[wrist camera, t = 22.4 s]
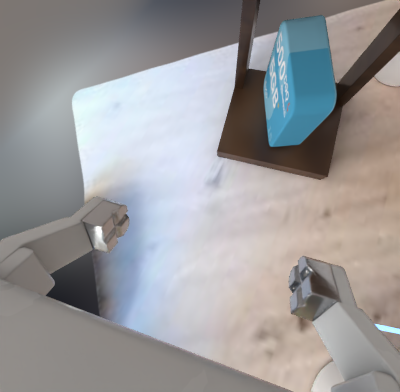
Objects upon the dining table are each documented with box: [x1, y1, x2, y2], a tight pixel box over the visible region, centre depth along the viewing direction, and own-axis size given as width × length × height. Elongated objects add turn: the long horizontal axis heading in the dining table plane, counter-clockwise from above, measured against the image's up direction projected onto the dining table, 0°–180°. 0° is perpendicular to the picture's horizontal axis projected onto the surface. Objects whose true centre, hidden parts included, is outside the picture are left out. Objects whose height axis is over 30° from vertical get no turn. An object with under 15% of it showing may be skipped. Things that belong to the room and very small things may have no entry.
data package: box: [264, 15, 337, 147], centre depth 28 cm, size 12×4×12 cm, turn 3°
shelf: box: [217, 0, 400, 180], centre depth 22 cm, size 18×16×28 cm
